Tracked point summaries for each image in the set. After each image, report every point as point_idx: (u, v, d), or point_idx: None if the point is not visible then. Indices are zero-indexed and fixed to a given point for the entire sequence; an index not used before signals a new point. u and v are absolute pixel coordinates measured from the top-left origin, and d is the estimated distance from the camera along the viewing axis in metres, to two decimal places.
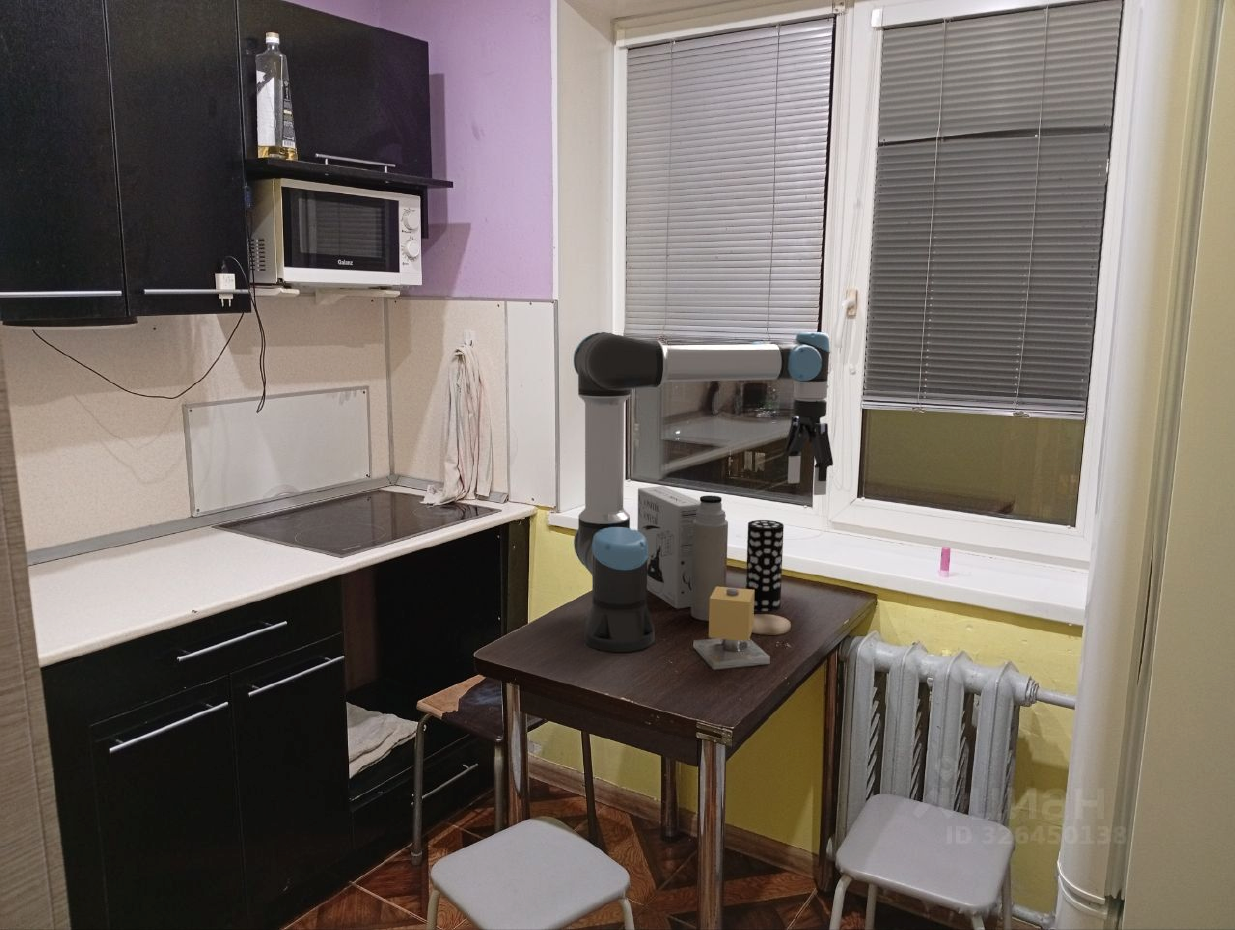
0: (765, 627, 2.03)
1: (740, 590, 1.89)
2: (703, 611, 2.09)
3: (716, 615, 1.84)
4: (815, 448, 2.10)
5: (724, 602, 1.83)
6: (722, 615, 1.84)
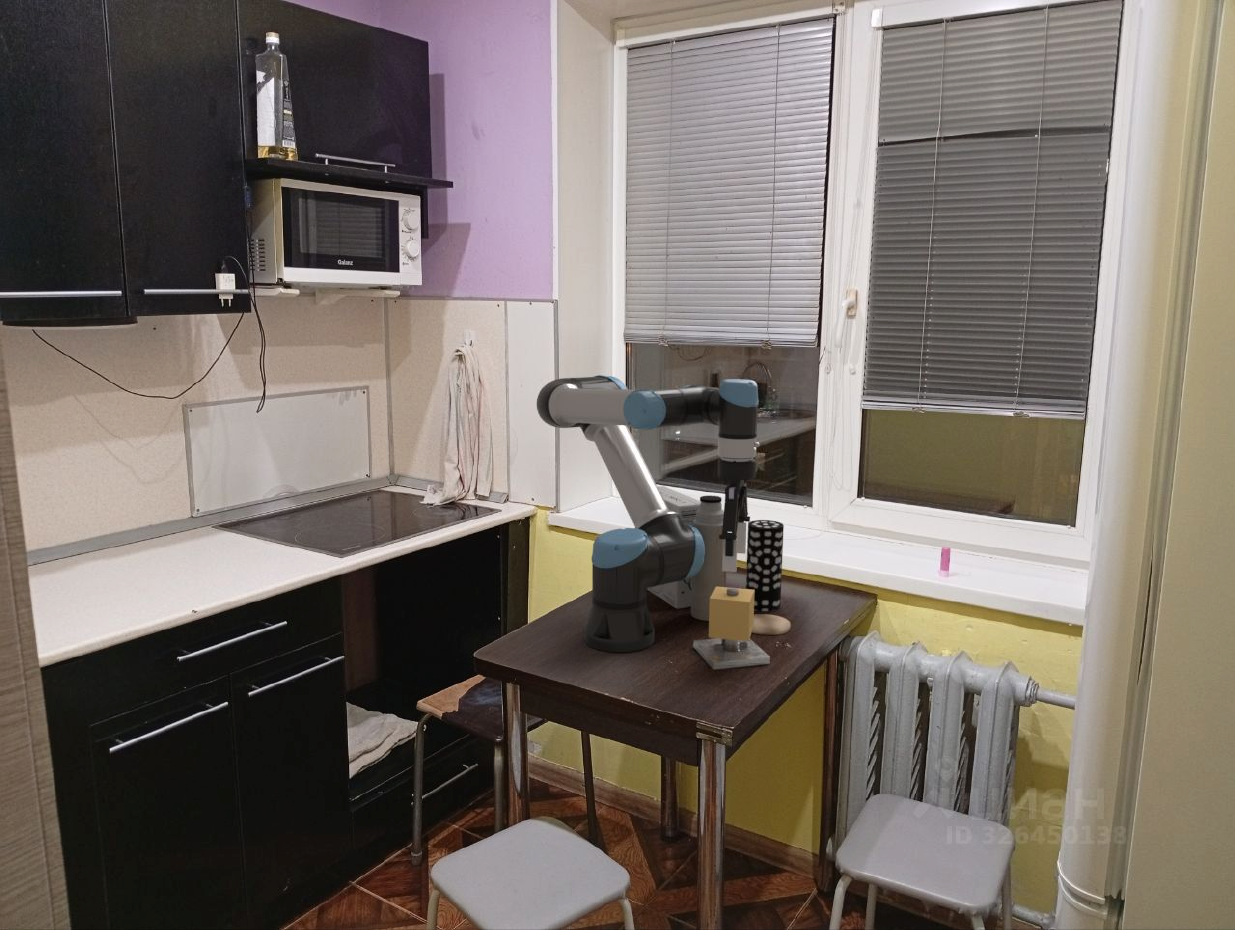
0: (765, 627, 2.03)
1: (740, 590, 1.89)
2: (703, 611, 2.09)
3: (716, 615, 1.84)
4: None
5: (724, 602, 1.83)
6: (722, 615, 1.84)
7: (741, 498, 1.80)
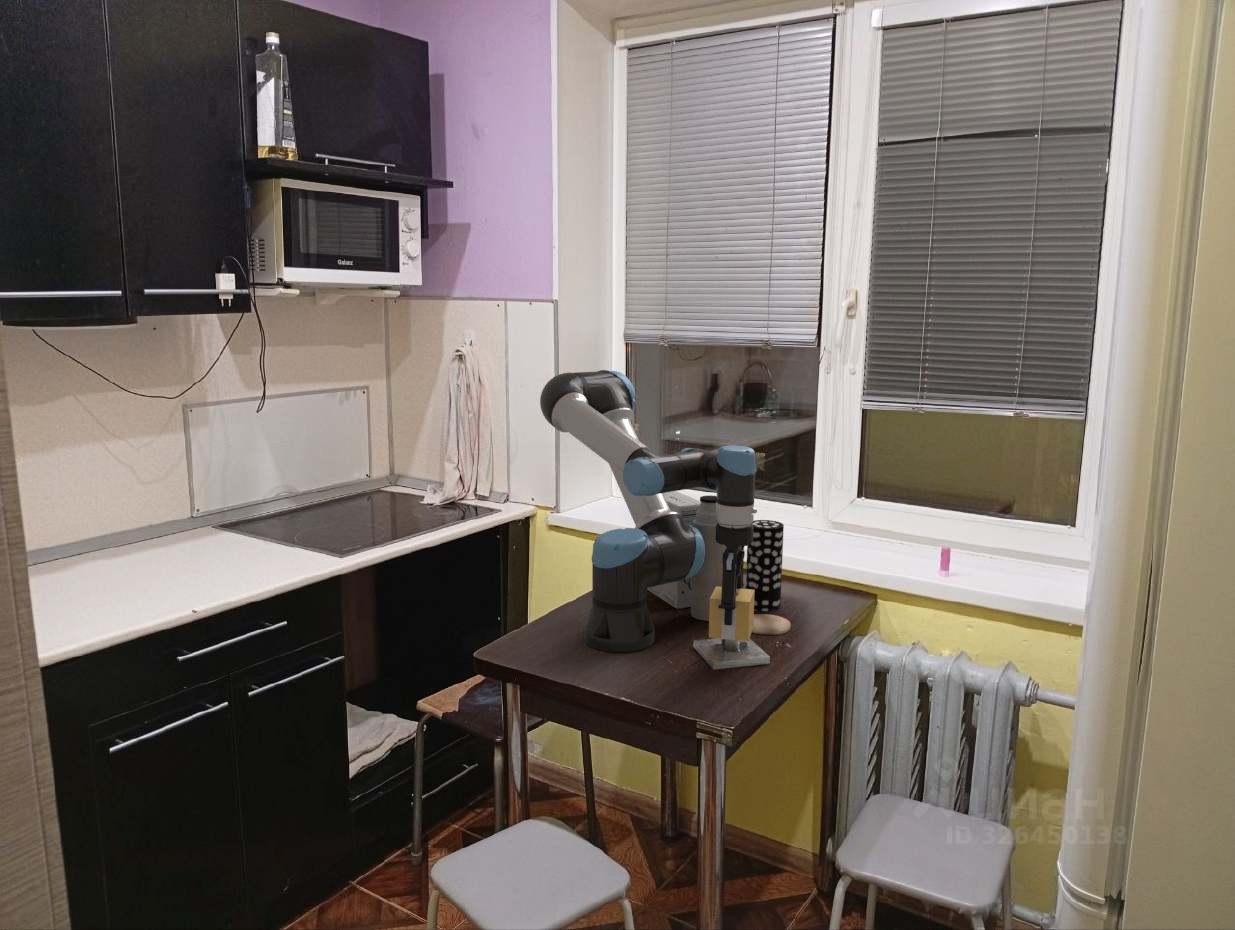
0: (765, 627, 2.03)
1: (740, 590, 1.89)
2: (703, 611, 2.09)
3: (716, 615, 1.84)
4: None
5: None
6: None
7: (739, 565, 1.83)
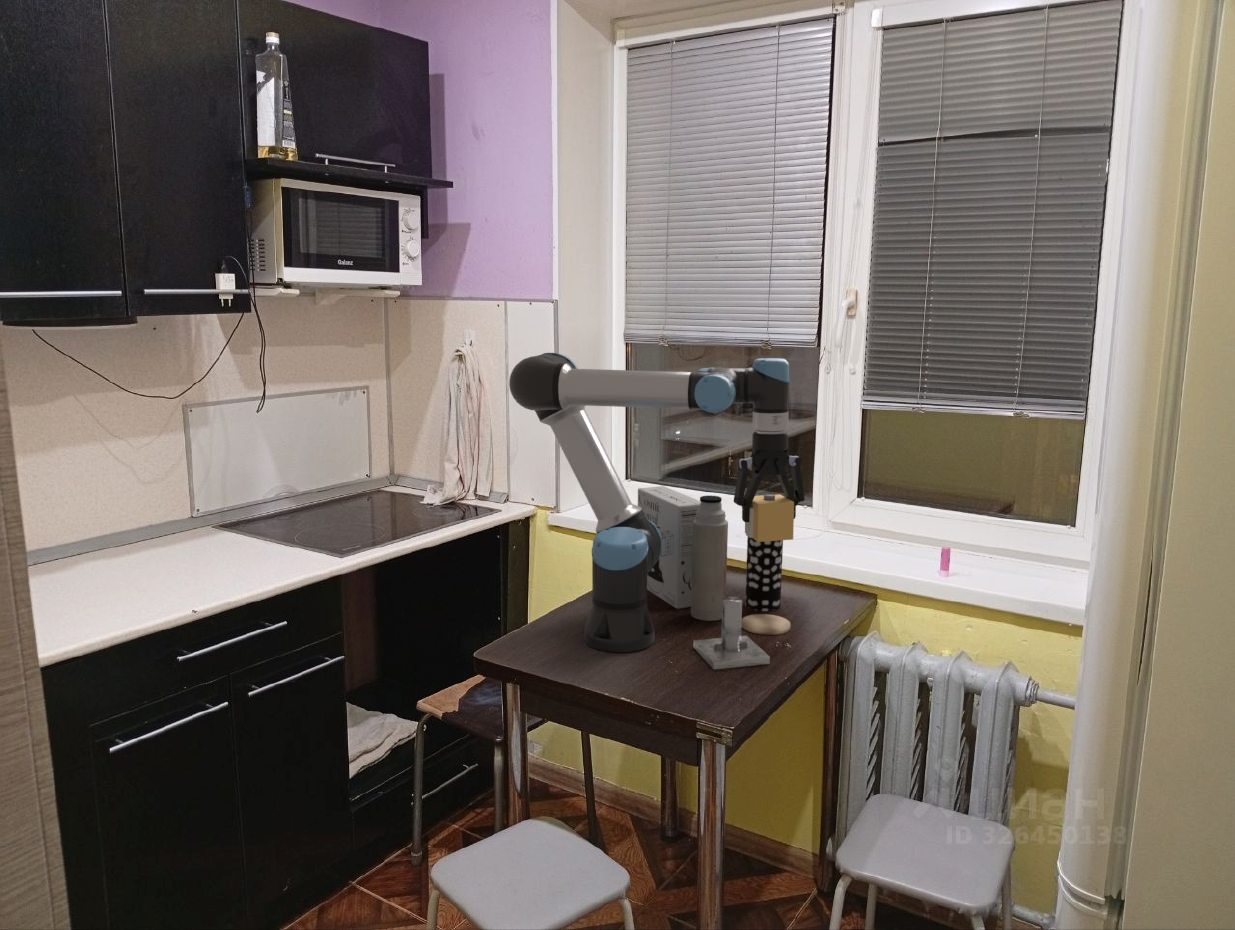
0: (765, 627, 2.03)
1: (783, 499, 1.98)
2: (703, 611, 2.09)
3: None
4: (749, 485, 1.98)
5: None
6: None
7: (760, 469, 1.95)
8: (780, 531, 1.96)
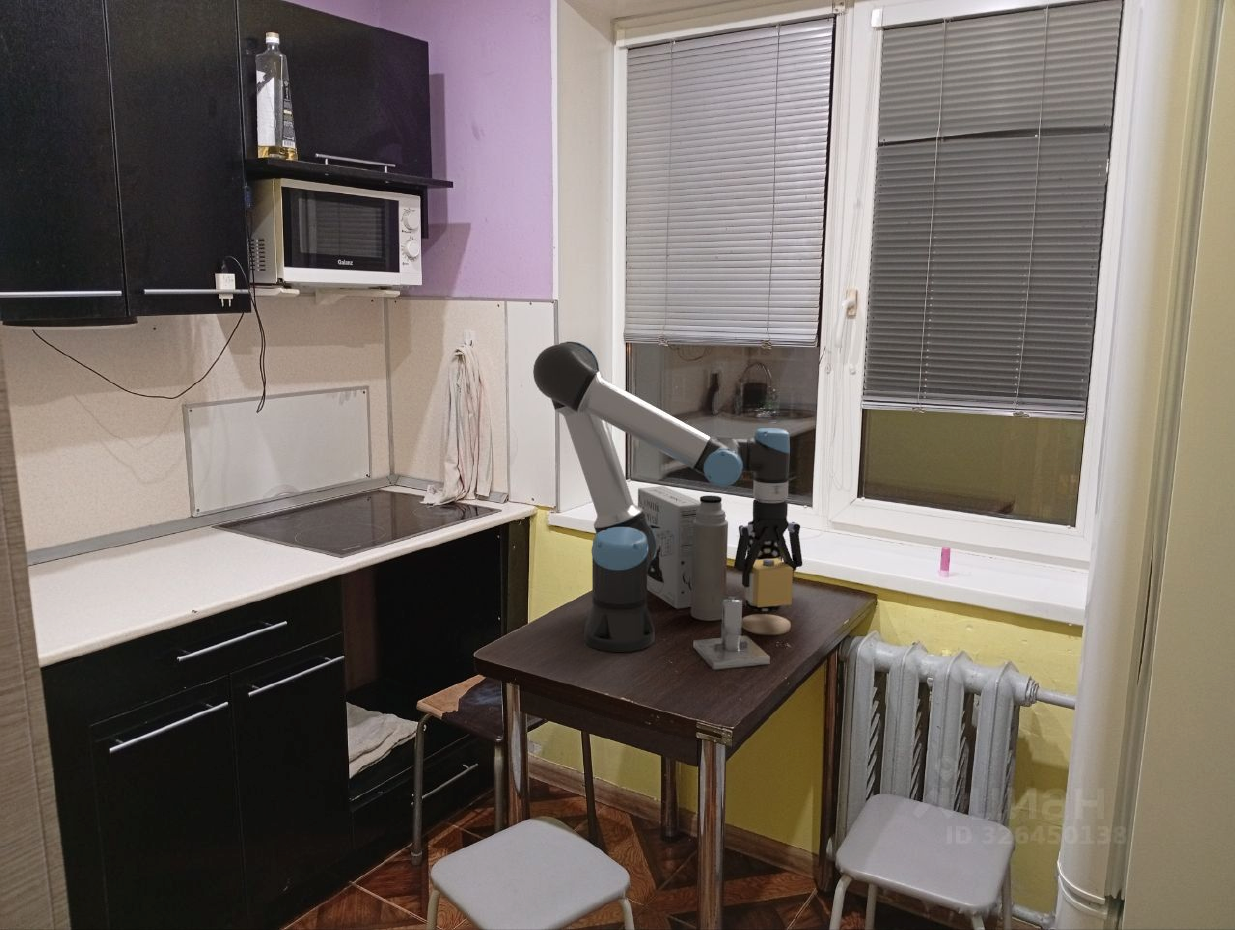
0: (765, 627, 2.03)
1: (782, 565, 2.03)
2: (703, 611, 2.09)
3: None
4: (749, 550, 2.03)
5: None
6: None
7: (761, 536, 2.00)
8: (779, 596, 2.01)
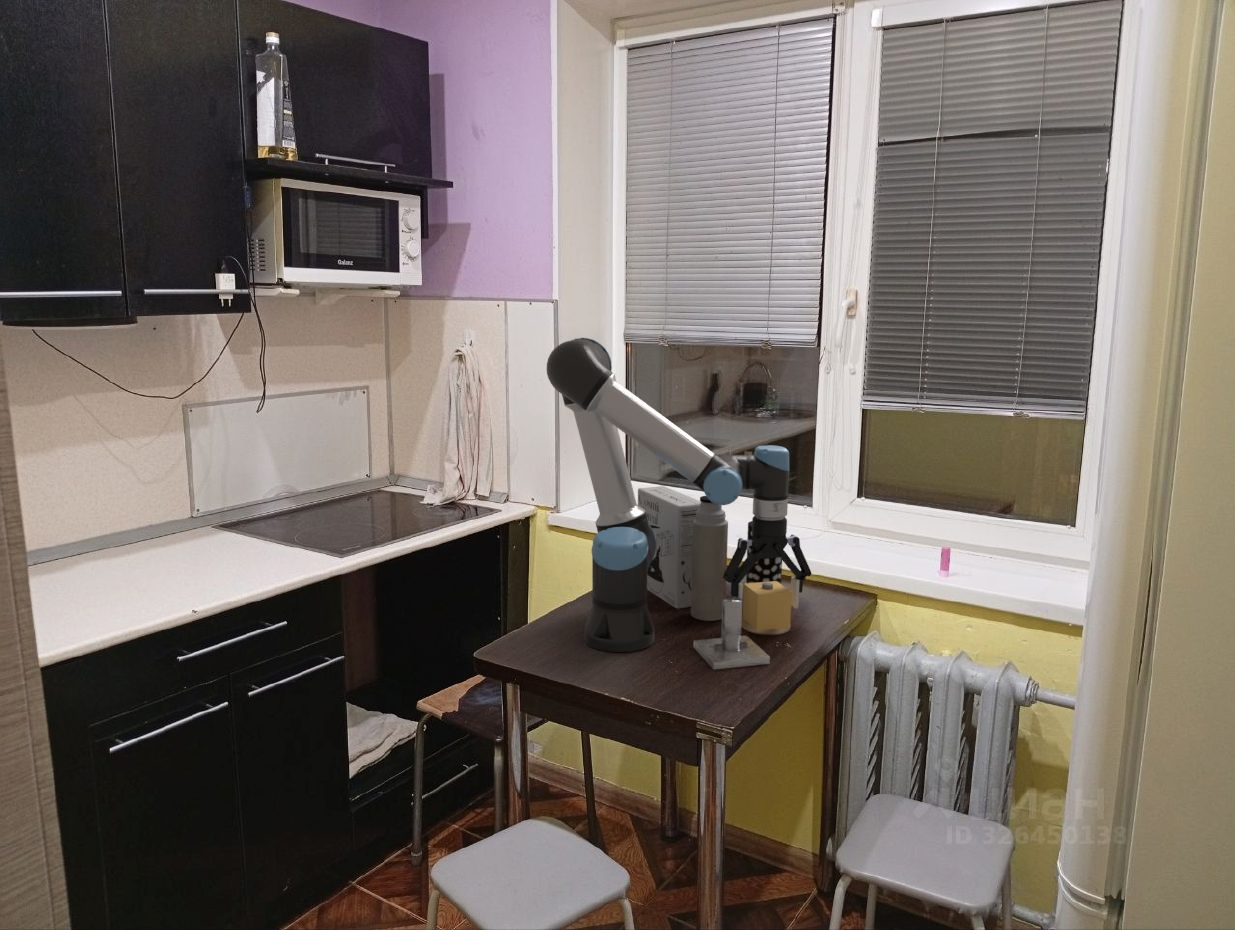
0: None
1: (781, 588, 2.04)
2: (703, 611, 2.09)
3: (745, 600, 2.06)
4: (742, 563, 2.03)
5: (748, 590, 2.04)
6: (747, 601, 2.05)
7: (758, 551, 2.01)
8: (778, 620, 2.02)
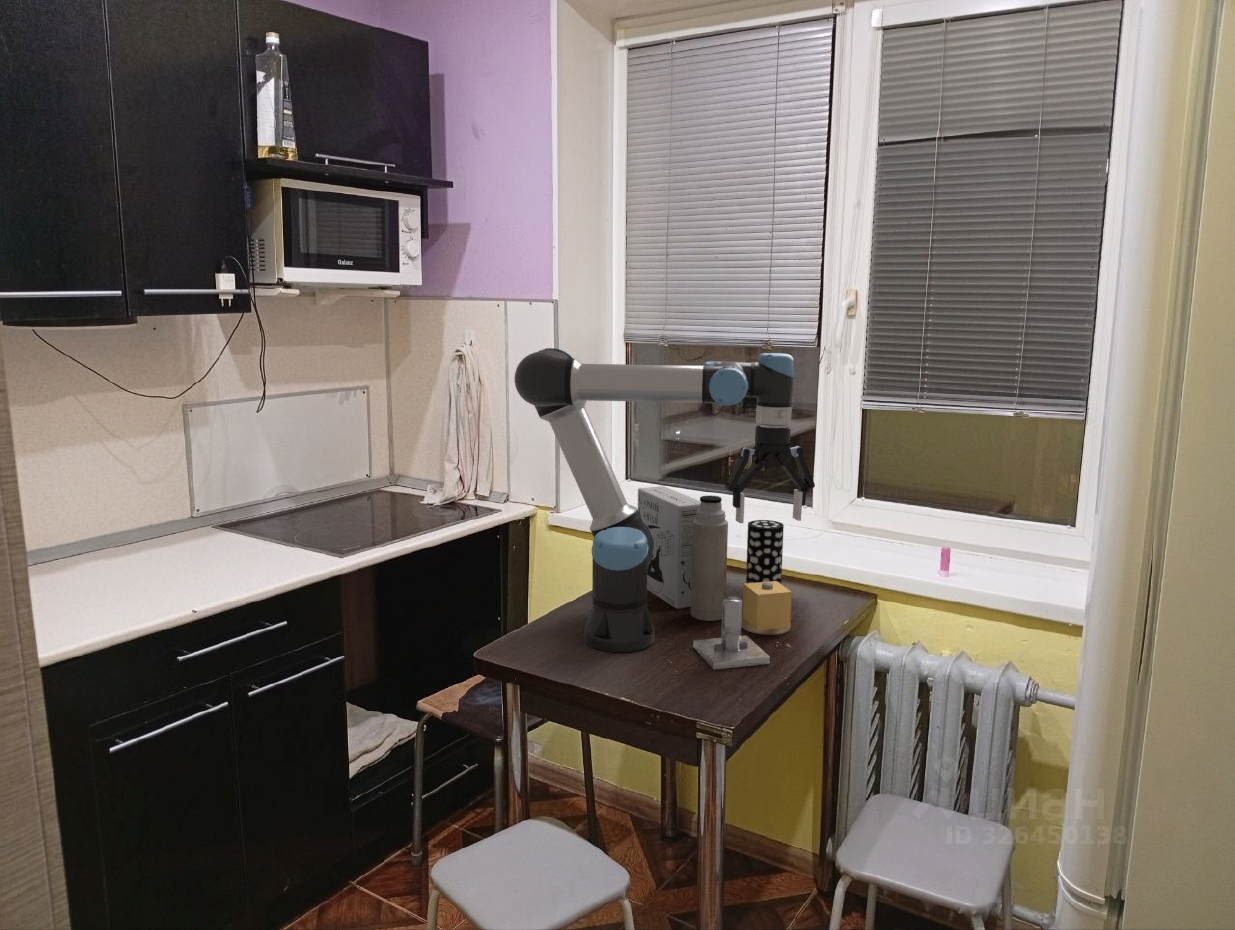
0: None
1: (781, 588, 2.04)
2: (703, 611, 2.09)
3: (745, 600, 2.06)
4: (745, 473, 2.00)
5: (748, 590, 2.04)
6: (747, 601, 2.05)
7: (761, 460, 1.98)
8: (778, 620, 2.02)
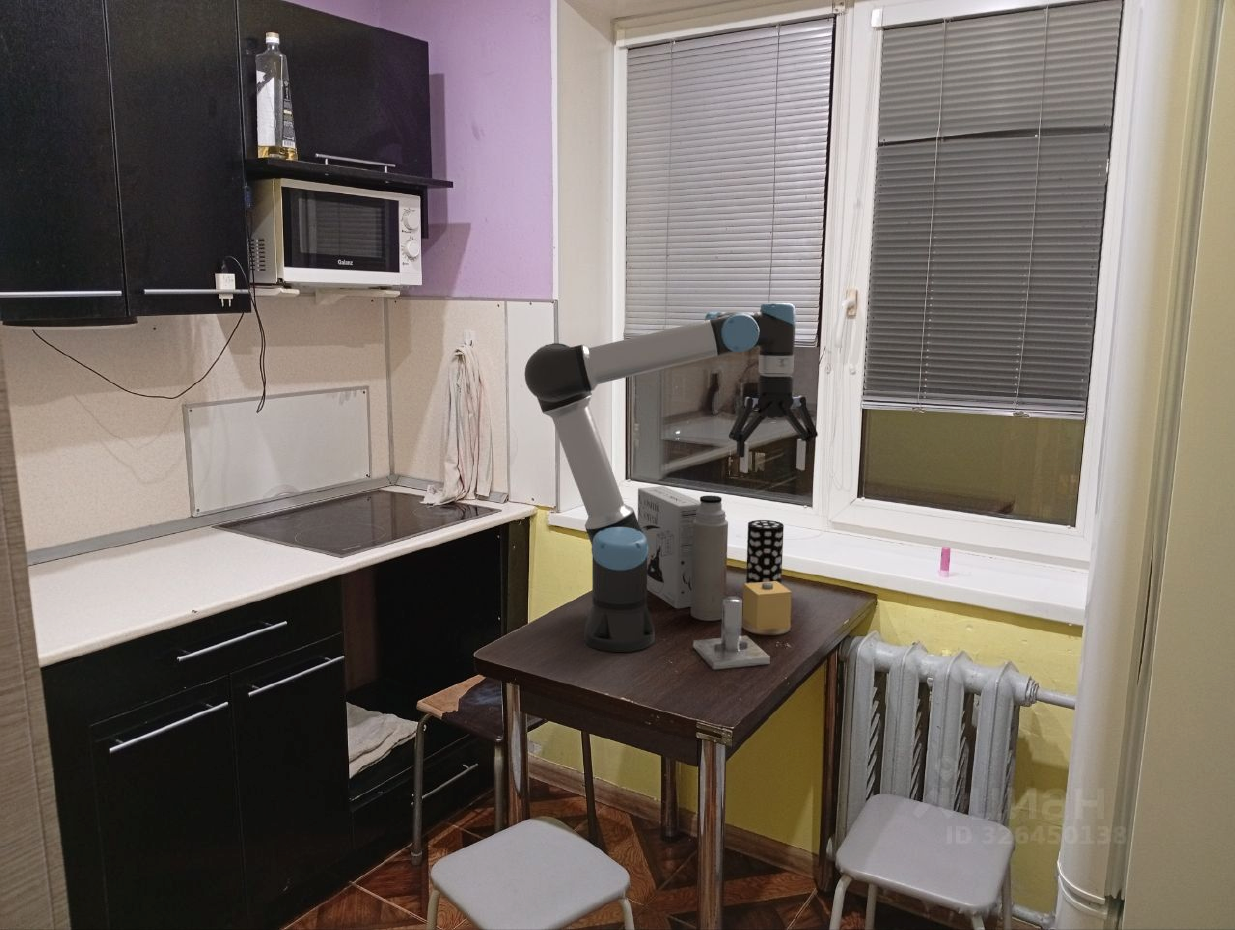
0: None
1: (781, 588, 2.04)
2: (703, 611, 2.09)
3: (745, 600, 2.06)
4: None
5: (748, 590, 2.04)
6: (747, 601, 2.05)
7: (765, 409, 1.99)
8: (778, 620, 2.02)
